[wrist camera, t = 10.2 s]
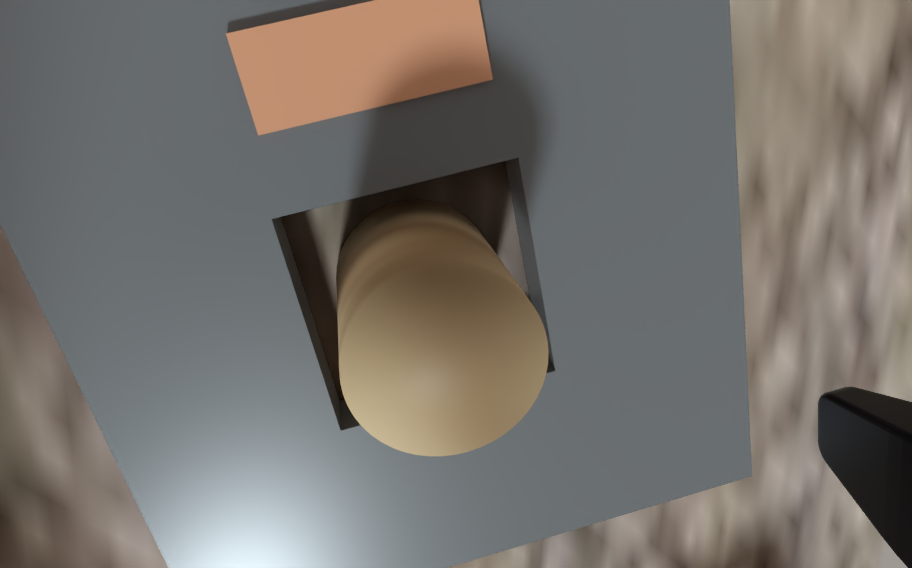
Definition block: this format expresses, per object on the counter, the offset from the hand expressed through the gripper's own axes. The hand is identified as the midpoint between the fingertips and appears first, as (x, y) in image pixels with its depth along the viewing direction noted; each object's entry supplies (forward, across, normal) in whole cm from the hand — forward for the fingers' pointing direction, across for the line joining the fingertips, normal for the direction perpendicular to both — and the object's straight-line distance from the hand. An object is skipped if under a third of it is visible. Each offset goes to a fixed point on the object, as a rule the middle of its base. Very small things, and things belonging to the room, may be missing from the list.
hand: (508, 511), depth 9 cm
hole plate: (+9, 0, 0) cm, 9 cm away
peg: (+9, 0, 0) cm, 9 cm away
